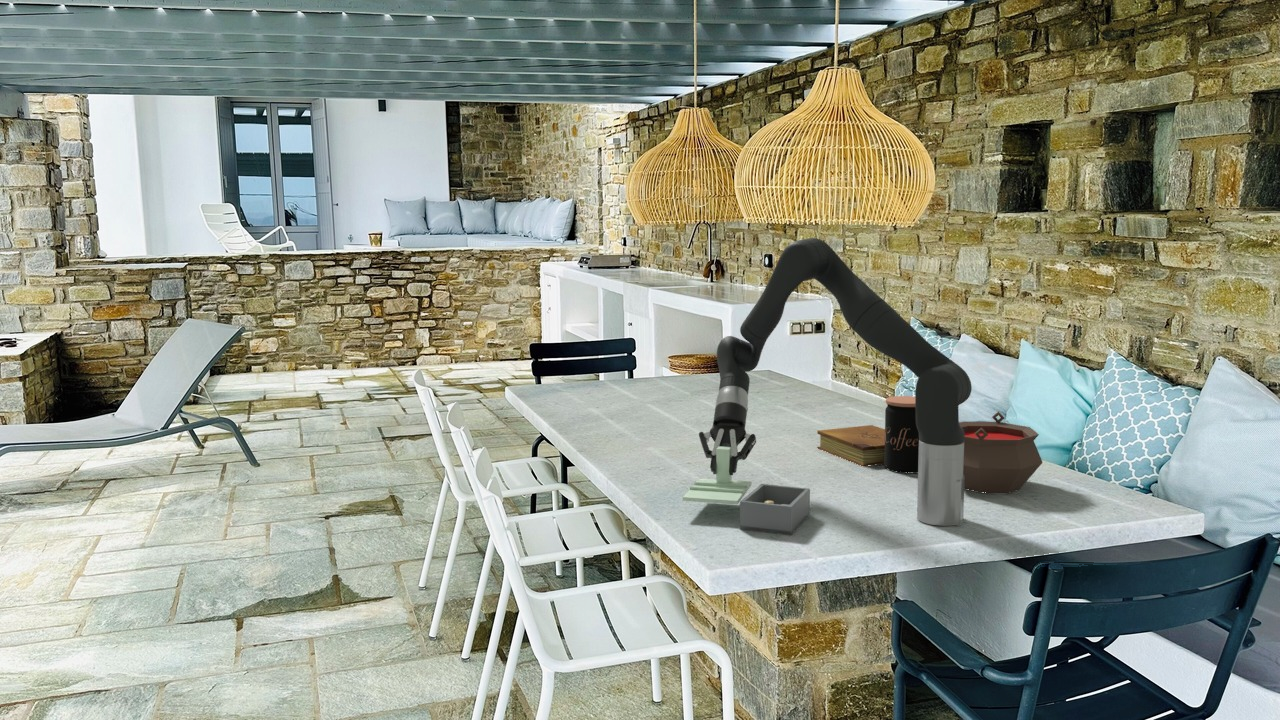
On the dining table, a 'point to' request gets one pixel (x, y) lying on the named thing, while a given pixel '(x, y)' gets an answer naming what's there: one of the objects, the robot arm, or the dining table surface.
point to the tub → (775, 509)
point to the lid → (719, 483)
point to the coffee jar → (901, 434)
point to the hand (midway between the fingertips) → (722, 472)
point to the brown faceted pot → (998, 455)
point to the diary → (855, 444)
